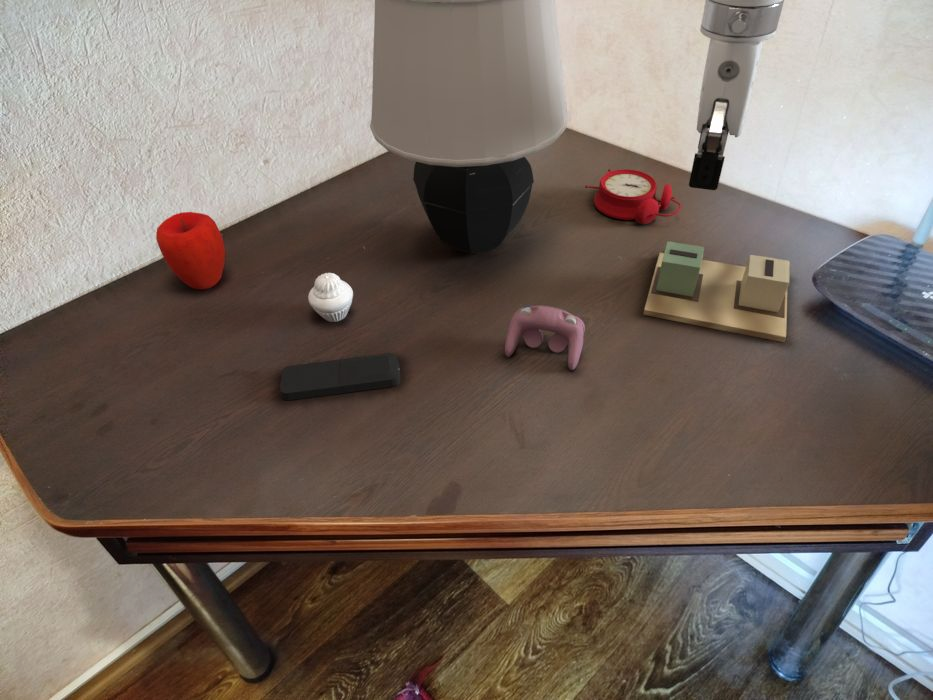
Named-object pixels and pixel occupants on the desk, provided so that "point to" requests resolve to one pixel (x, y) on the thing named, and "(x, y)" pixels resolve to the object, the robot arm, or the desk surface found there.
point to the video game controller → (549, 319)
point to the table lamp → (468, 106)
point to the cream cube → (764, 283)
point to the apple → (192, 248)
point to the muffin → (331, 297)
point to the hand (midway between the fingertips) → (706, 168)
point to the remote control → (340, 376)
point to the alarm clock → (631, 196)
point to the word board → (716, 304)
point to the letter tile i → (680, 268)
